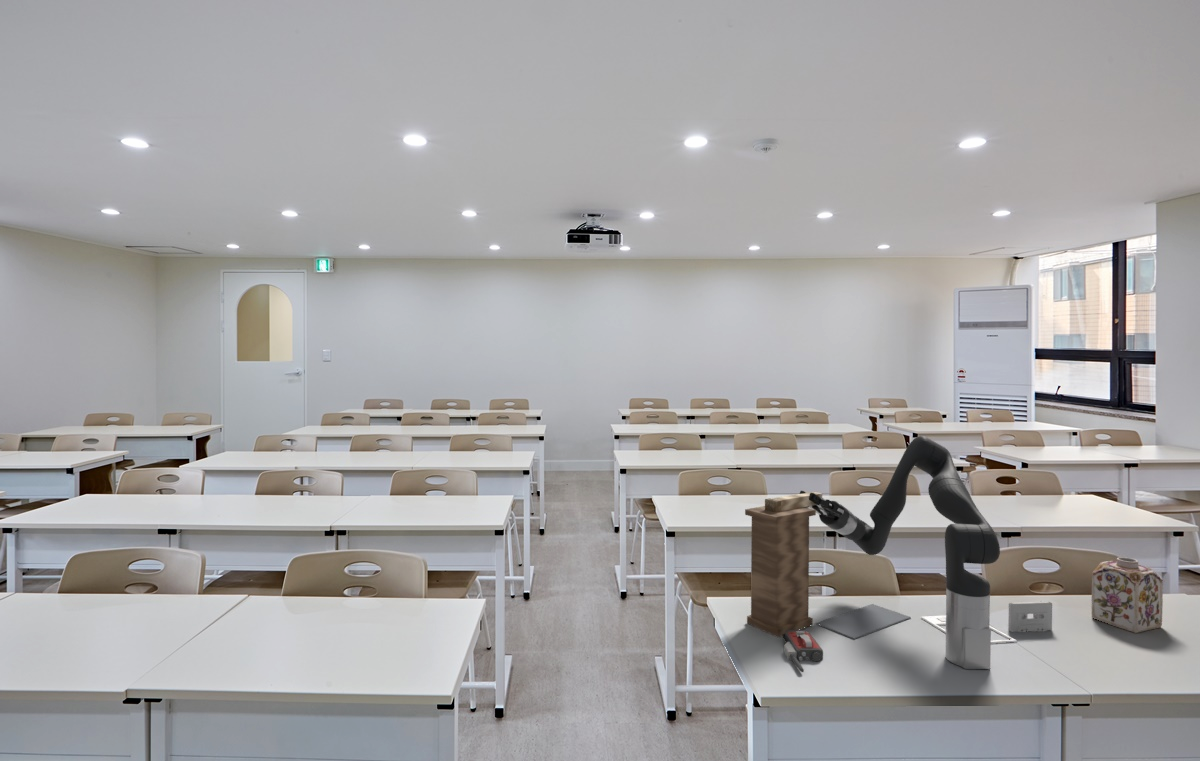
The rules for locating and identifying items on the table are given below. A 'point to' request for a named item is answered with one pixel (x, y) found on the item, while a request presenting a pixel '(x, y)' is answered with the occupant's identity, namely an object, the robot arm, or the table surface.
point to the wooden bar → (789, 502)
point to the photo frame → (941, 620)
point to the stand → (780, 569)
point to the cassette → (1035, 623)
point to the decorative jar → (1127, 595)
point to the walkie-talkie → (801, 647)
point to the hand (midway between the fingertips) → (805, 494)
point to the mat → (863, 621)
